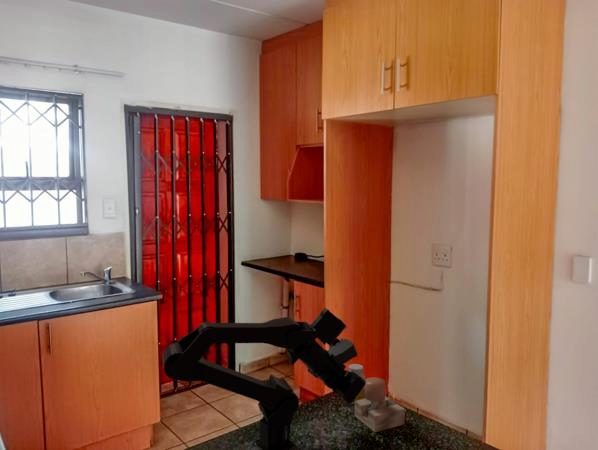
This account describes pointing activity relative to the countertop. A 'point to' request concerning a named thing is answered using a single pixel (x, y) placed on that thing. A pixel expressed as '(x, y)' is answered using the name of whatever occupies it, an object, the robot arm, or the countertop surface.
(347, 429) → the countertop surface
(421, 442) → the countertop surface
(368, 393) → the knob
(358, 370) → the supplement bottle
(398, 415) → the knob track
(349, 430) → the countertop surface
